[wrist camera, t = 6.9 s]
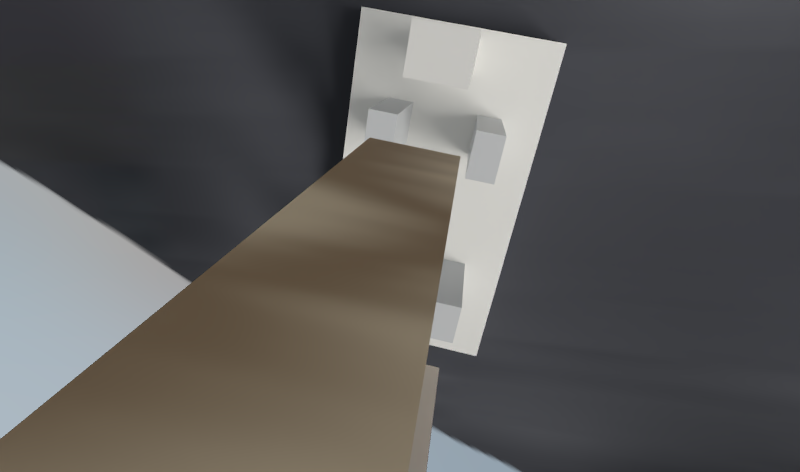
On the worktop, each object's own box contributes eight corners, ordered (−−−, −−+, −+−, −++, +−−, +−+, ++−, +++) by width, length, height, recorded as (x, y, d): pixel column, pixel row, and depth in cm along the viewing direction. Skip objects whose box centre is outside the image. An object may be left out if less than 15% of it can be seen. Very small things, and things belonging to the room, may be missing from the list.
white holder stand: (561, 44, 28) (629, 39, 15) (476, 340, 37) (474, 497, 24) (369, 9, 29) (280, -24, 16) (330, 306, 38) (253, 438, 25)
